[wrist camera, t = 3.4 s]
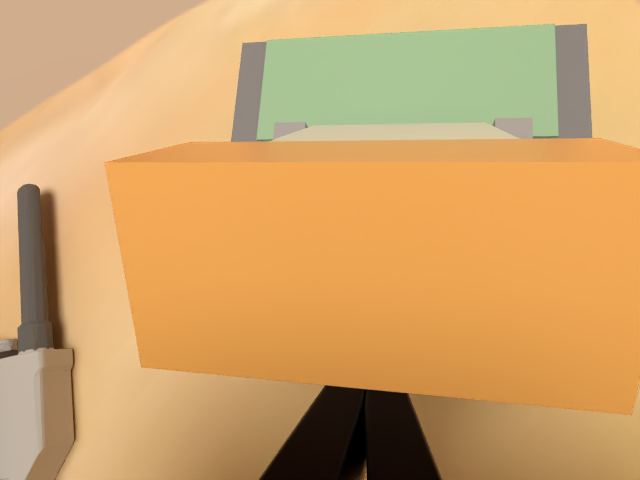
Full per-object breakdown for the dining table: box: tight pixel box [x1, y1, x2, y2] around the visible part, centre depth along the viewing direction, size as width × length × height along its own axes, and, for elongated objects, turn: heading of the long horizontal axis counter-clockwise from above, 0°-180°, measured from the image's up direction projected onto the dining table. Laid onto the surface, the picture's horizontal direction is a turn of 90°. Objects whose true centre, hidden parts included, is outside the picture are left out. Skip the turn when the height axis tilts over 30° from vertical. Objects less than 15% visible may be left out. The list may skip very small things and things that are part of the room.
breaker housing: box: [231, 24, 592, 142], centre depth 16 cm, size 10×12×6 cm
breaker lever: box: [105, 122, 640, 415], centre depth 10 cm, size 3×6×11 cm, turn 85°
